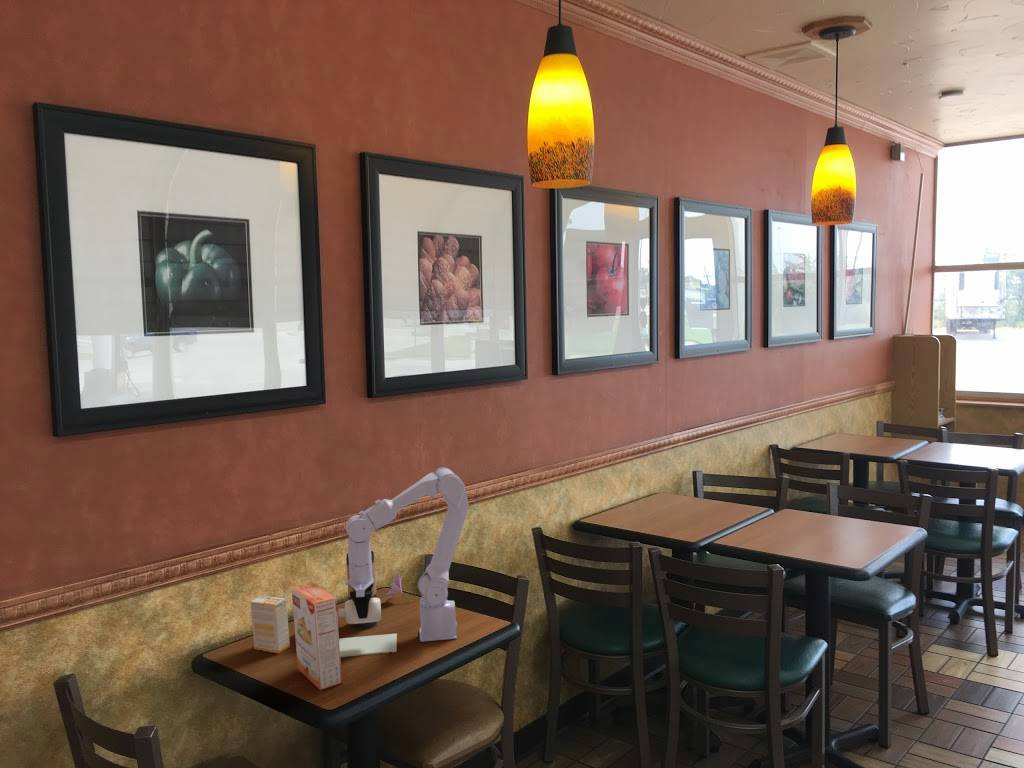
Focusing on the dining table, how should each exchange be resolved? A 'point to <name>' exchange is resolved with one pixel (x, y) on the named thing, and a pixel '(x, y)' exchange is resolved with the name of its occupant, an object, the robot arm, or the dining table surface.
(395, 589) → the lily
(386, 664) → the dining table surface
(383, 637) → the mat
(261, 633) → the supplement box
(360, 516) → the robot arm
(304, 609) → the cracker box
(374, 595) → the travel mug
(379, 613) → the grey rounded piece
